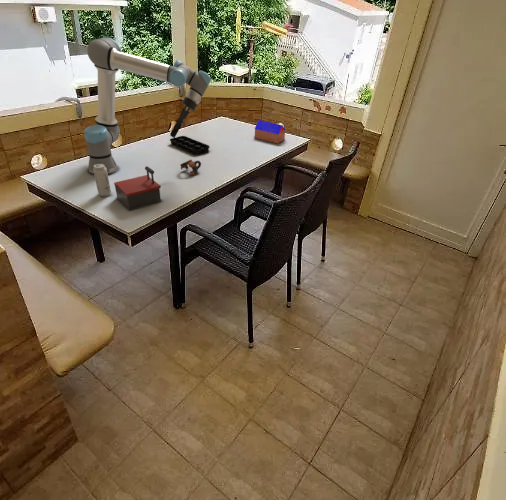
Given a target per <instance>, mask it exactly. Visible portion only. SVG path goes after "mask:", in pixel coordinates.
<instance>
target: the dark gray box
mask: <svg viewBox="0 0 506 500" xmlns="http://www.w3.org/2000/svg"><path fill="white" fill-rule="evenodd" d="M114 188H115V194H116V198H117V200H119V201H120V202H121V203H122V204H123V205H124V206H125V207H126V208H127V210H128V211H132V210H135V209H139V208H142V207H147V206H149V205H154V204H156V203H161V202H162V199H161V198H162V197H161V191H160V190H161V188H159V189H155V190H151V191H147V192H143V193H139V194H136V195H132V196H128V197H127V196H126V195H125V194H124V193H123V192H122V191H121V190H120V189H119V188H118V187H117V186H116V185H115V184H114Z"/></svg>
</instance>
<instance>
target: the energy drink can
mask: <svg viewBox="0 0 506 500" xmlns="http://www.w3.org/2000/svg"><path fill="white" fill-rule="evenodd" d="M93 172H94V174H93V177H94V180H95V186H96V189H97V194H98V195H99V196H100V197H109V196H110V195H111V193H112V190H111V185H110V180H109V179H110V178H109V174H107V169H106V167H105V166H104V164H96V165H94V168H93Z"/></svg>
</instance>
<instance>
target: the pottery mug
mask: <svg viewBox="0 0 506 500" xmlns="http://www.w3.org/2000/svg"><path fill="white" fill-rule="evenodd" d="M197 164H198V165H197ZM201 166H202V162H201V161H200V160H195V161H193V160H192V159H188V160H186V161H185V162H182V163H181V164H180V169H181V170H183V169H185V170H188V169H189V168H191V169H192V170H191V171H190V172H189V173H190V175H191V176H194V175H196V174H198V173H199V169H200V168H201Z"/></svg>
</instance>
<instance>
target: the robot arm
mask: <svg viewBox="0 0 506 500" xmlns="http://www.w3.org/2000/svg"><path fill="white" fill-rule="evenodd" d="M86 52H87V57H88V58H89V60H90V62H91V63H92V64H94V68H96V71H97V116H96V117H95V118H94V120H95V121H94V124H92V125H90V126H87V127H85V129H84V130H83V134H84V135H83V137H84V140H85V144H86V149H87V152H88V159H89V160H88V166H87V169H88V172H89V174H91V175H94V172H93V168H94V165H96V164H104V166H105V167H106V169H107V174H108V175H111V174H114V173H115V172H117V171H118V165H117V162H116V160H115V159H114V156H113V154H112V150H111V146H112V145H113V144H114V143H115V142H116V141H117V140H118V139H119V137H120V133H121V130H120V127H119V126H118V120H117V118H116V73H118V72H119V71H120V70H121V71H124V72H128V73H131V74H136V75H140V76H144V77H147V78H151V79H155V80H158V81H162V82H166V83H169V84H171V85H173V86H174V87H176V88H180V87H183V86H184V85H188V86H189V88H188V91H187V92H186V94H185V97H184V98H183V100H182V102H181V104H182V105H183V106H184V107H183V108H182V109H181V111H180V114H179V116H178V119H175V124H174V125H173V128H172V129H171V131H170V133H169V136H170V137H172V138H176V137H177V134H178V132H179V130H180V129H182V128H183V127H182V125H183V123H184V121H185V120H186V119H187V117H188V116H189V115H190V111H192V112H194V111H196V109H197V107H198V105H199V104H200V102H202V98H203V96H204V94H205V92H206V90H207V89H208V87H209V85H210V83H211V81H212V77H211V76H210V75H209V74H208V73H207V72H205V71H203V70H198V71H195V70H194V69H193V68H191V67H190V66H188V65H187V64H186V63H184V62H182V61H181V60H179V59H176V60H175V62H174V63H173V65H169V64H166V63H162V62H158V61H155V60H151V59H149V58H148V59H147V58H144V57H140V56H137V55H134V54H129V53H125V52H122V48H121V46H120V44H119V43H118V42H117V41H116V40H114V39H113V38H111V37H105V36H104V37H100V38H97V39H93V40H91V41H90V42H89V43H88V45H87V49H86Z"/></svg>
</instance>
